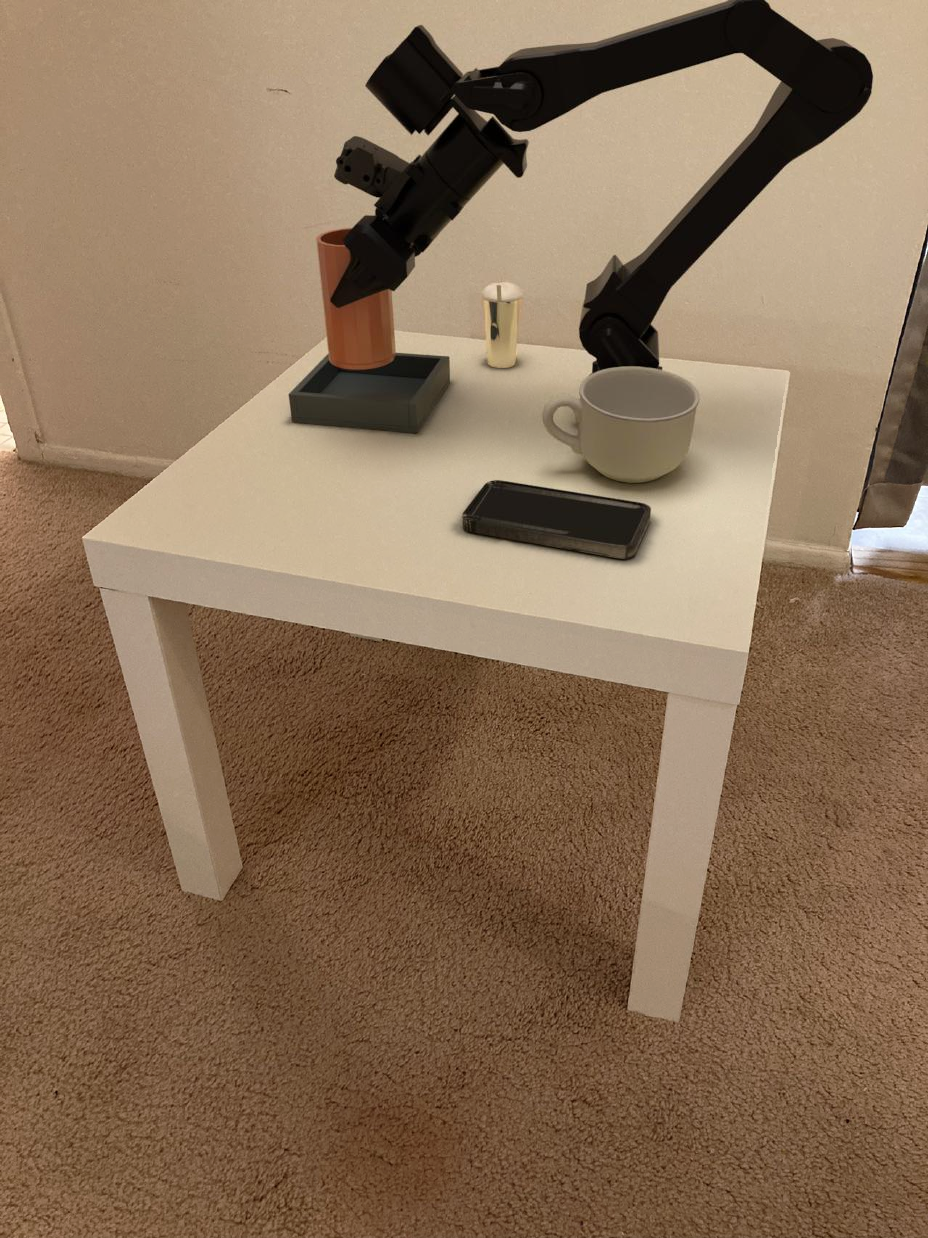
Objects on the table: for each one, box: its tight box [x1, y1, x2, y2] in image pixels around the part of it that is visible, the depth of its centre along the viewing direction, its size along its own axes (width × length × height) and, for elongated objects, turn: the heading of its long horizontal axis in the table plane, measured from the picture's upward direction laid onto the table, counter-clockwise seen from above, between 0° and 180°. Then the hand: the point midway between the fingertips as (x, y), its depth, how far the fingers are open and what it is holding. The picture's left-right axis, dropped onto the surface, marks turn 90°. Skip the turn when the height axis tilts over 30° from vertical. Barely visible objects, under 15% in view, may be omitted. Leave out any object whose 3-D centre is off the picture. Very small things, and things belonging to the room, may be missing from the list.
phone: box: [462, 479, 652, 560], centre depth 84 cm, size 8×1×15 cm
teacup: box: [541, 366, 700, 484], centre depth 91 cm, size 14×11×8 cm
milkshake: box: [481, 281, 523, 369], centre depth 112 cm, size 4×5×10 cm
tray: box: [288, 352, 451, 434], centre depth 106 cm, size 14×14×3 cm
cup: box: [315, 227, 397, 370], centre depth 98 cm, size 7×7×12 cm
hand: (343, 292), depth 98 cm, fingers closed on cup, 7 cm apart
